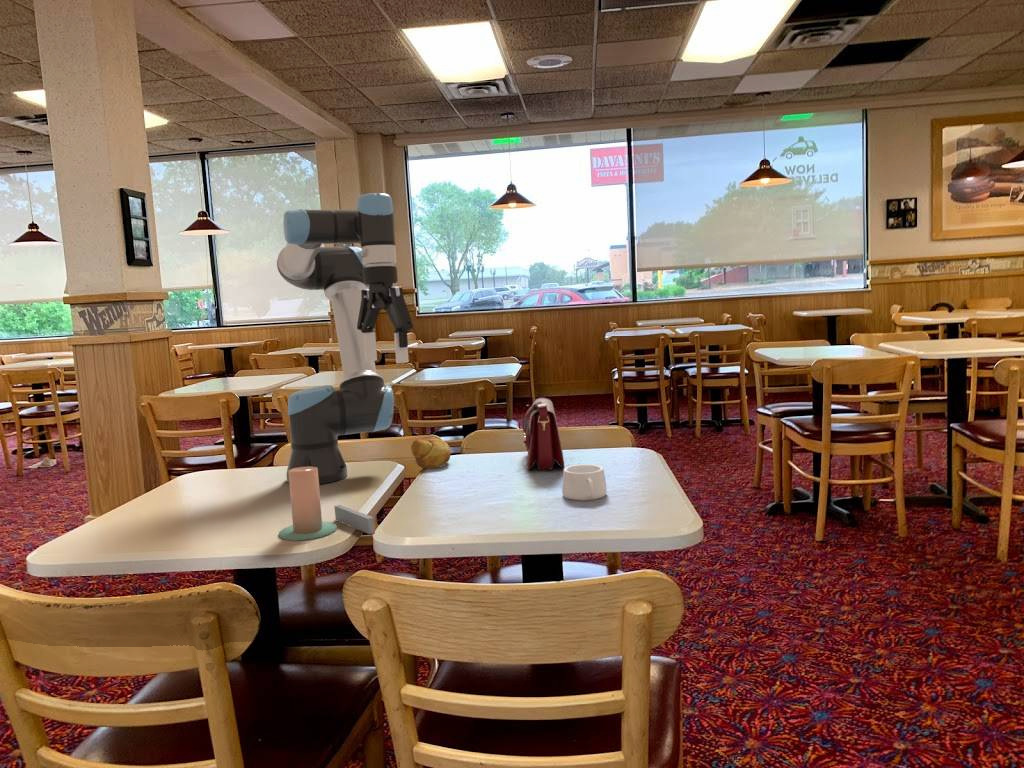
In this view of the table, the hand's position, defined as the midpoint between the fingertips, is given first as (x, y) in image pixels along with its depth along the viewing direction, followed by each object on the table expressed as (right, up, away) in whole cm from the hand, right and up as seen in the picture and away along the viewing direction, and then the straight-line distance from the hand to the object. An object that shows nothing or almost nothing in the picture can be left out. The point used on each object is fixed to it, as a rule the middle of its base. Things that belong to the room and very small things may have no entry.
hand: (386, 362), depth 169 cm
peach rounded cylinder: (-12, -34, -21) cm, 41 cm away
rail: (-3, -33, -19) cm, 38 cm away
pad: (-12, -34, -21) cm, 41 cm away
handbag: (+36, -26, +31) cm, 54 cm away
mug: (+44, -30, -5) cm, 53 cm away
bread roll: (+7, -27, +35) cm, 45 cm away
